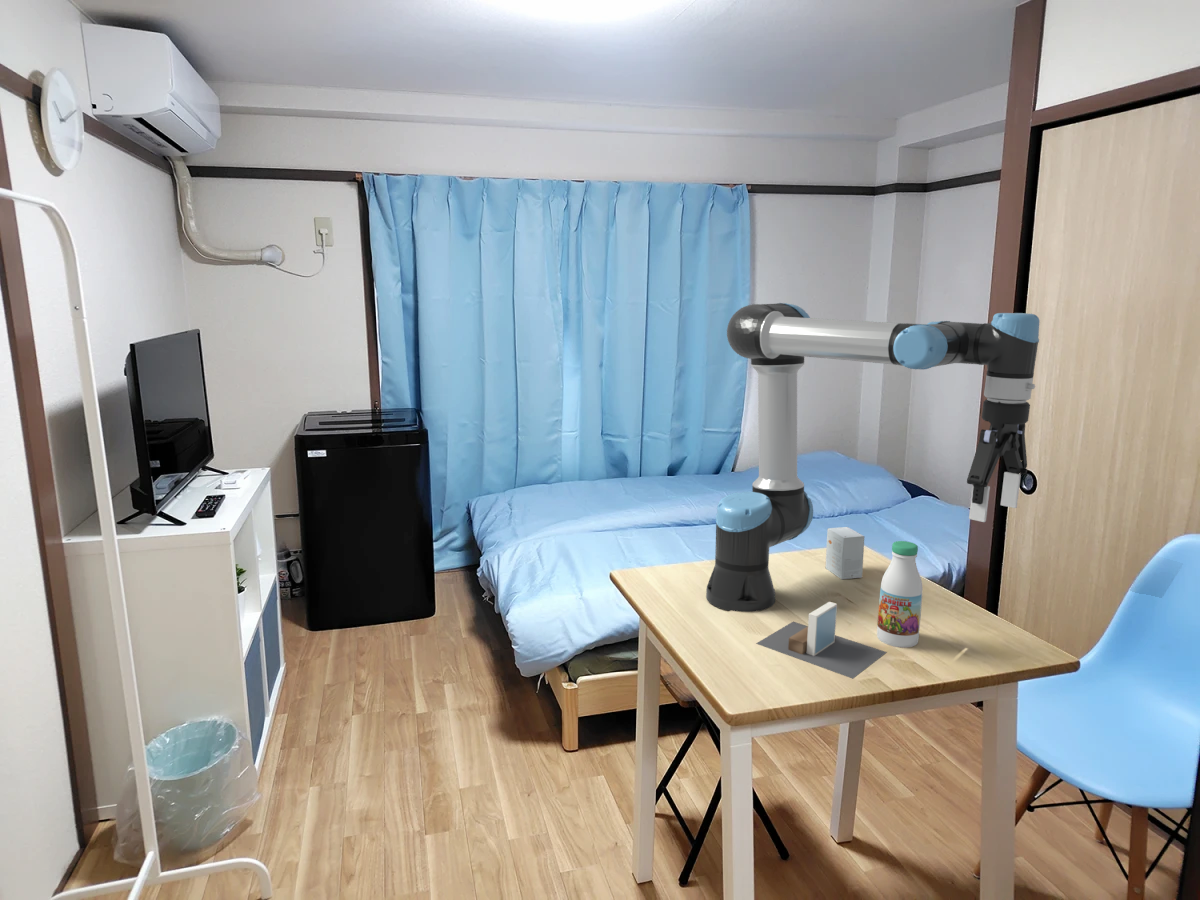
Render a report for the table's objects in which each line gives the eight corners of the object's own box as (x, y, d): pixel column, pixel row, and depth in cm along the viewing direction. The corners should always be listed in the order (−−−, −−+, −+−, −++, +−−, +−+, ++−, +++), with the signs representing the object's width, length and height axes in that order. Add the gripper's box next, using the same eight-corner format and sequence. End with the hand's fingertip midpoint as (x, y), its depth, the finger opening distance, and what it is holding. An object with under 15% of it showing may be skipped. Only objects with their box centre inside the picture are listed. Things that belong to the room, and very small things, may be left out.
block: (788, 649, 149) (788, 637, 148) (814, 633, 156) (814, 621, 156) (802, 654, 147) (803, 642, 146) (828, 637, 154) (828, 626, 153)
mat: (756, 645, 152) (756, 643, 152) (793, 623, 162) (793, 621, 161) (852, 680, 138) (852, 678, 138) (886, 654, 148) (886, 652, 148)
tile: (806, 653, 147) (808, 613, 146) (826, 639, 153) (829, 601, 151) (814, 656, 146) (816, 616, 145) (834, 642, 152) (837, 603, 150)
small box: (862, 578, 186) (865, 536, 184) (841, 580, 185) (844, 537, 183) (845, 566, 194) (848, 526, 192) (824, 568, 193) (827, 527, 191)
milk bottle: (877, 629, 159) (884, 535, 154) (918, 635, 156) (927, 540, 151) (875, 645, 152) (882, 547, 147) (917, 652, 149) (926, 552, 144)
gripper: (999, 409, 129) (984, 531, 134) (1055, 396, 145) (1041, 505, 150) (954, 404, 135) (942, 521, 139) (1013, 391, 151) (1000, 497, 156)
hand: (993, 513), depth 145 cm, fingers open, 13 cm apart
